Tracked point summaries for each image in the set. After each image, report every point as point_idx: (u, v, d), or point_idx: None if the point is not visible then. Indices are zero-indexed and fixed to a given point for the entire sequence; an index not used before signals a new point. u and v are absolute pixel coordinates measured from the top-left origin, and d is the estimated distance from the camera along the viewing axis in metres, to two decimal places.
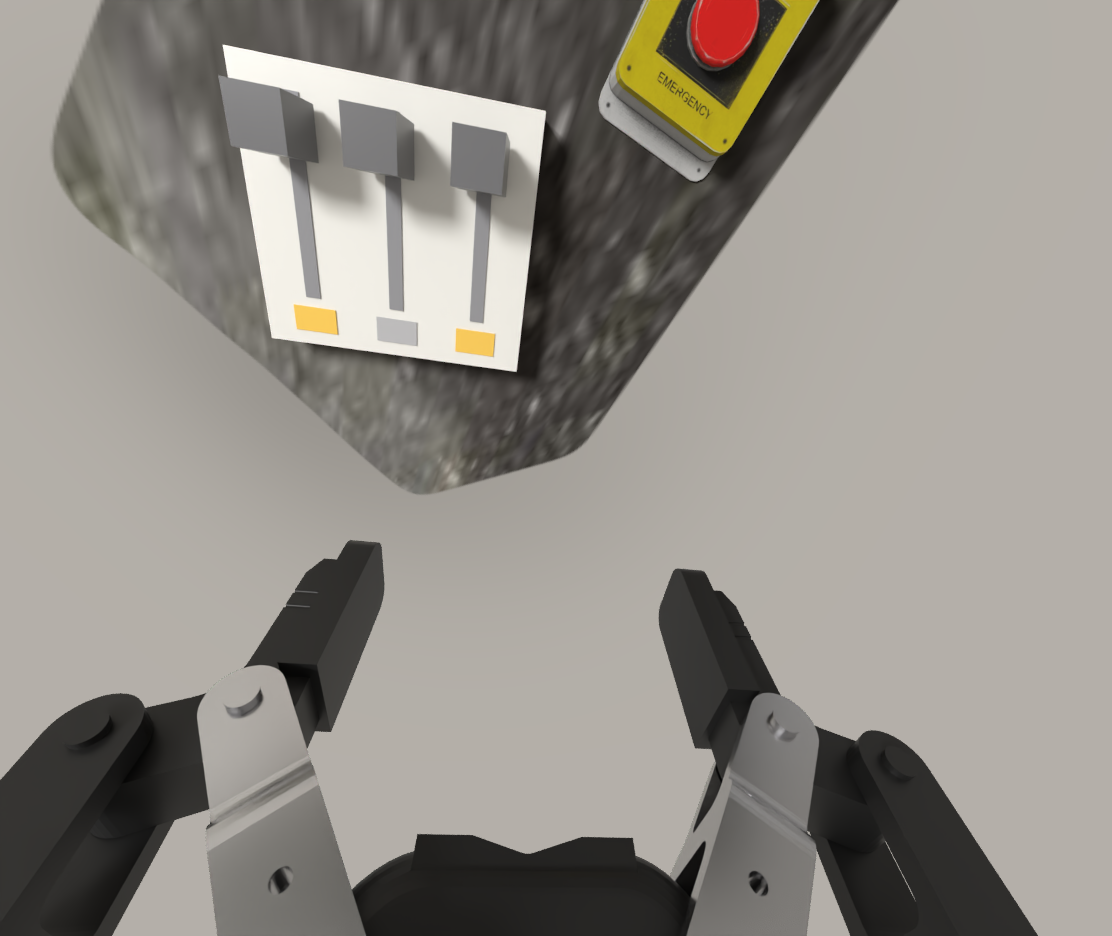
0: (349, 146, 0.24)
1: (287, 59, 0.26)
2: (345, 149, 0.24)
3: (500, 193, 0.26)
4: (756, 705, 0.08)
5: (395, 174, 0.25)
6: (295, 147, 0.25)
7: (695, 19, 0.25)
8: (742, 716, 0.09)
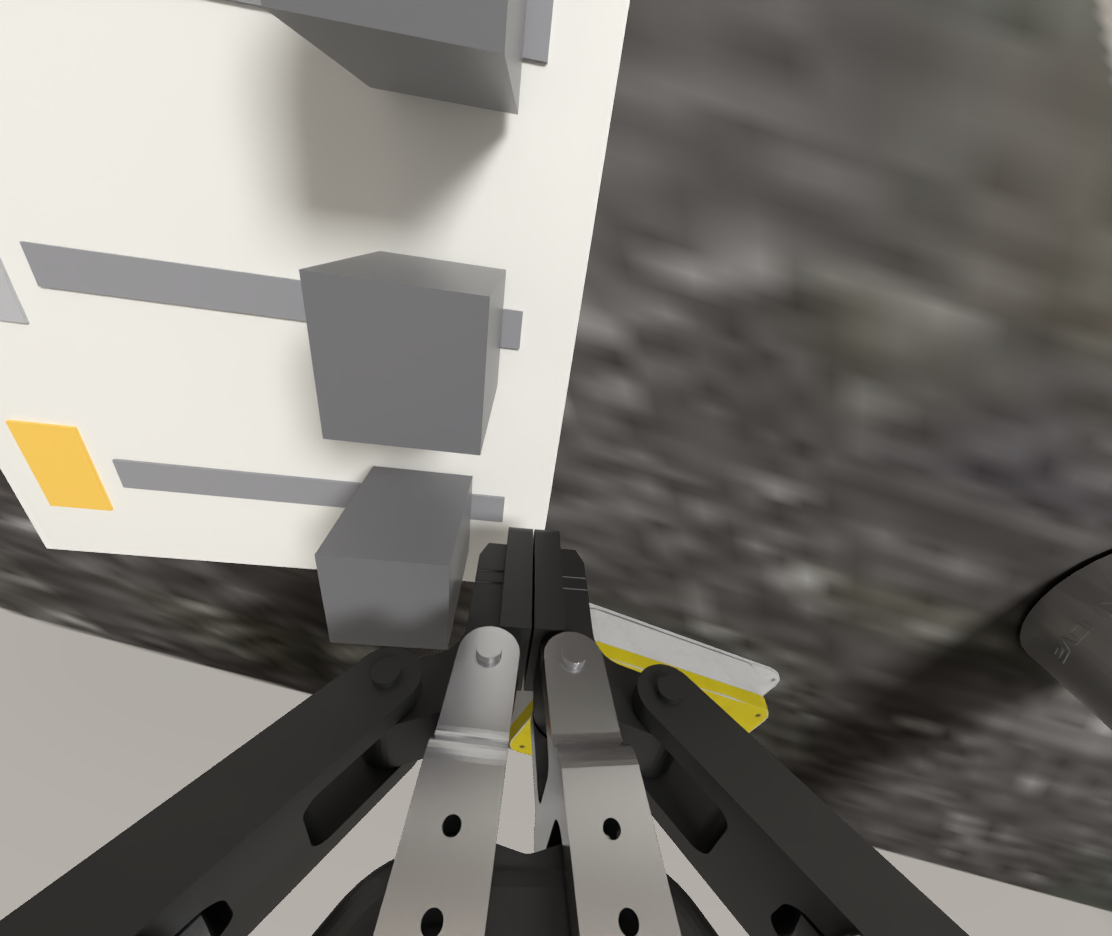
0: (365, 305, 0.07)
1: (618, 49, 0.09)
2: (353, 289, 0.07)
3: (333, 640, 0.11)
4: (549, 655, 0.09)
5: (325, 433, 0.08)
6: (342, 45, 0.06)
7: None
8: None
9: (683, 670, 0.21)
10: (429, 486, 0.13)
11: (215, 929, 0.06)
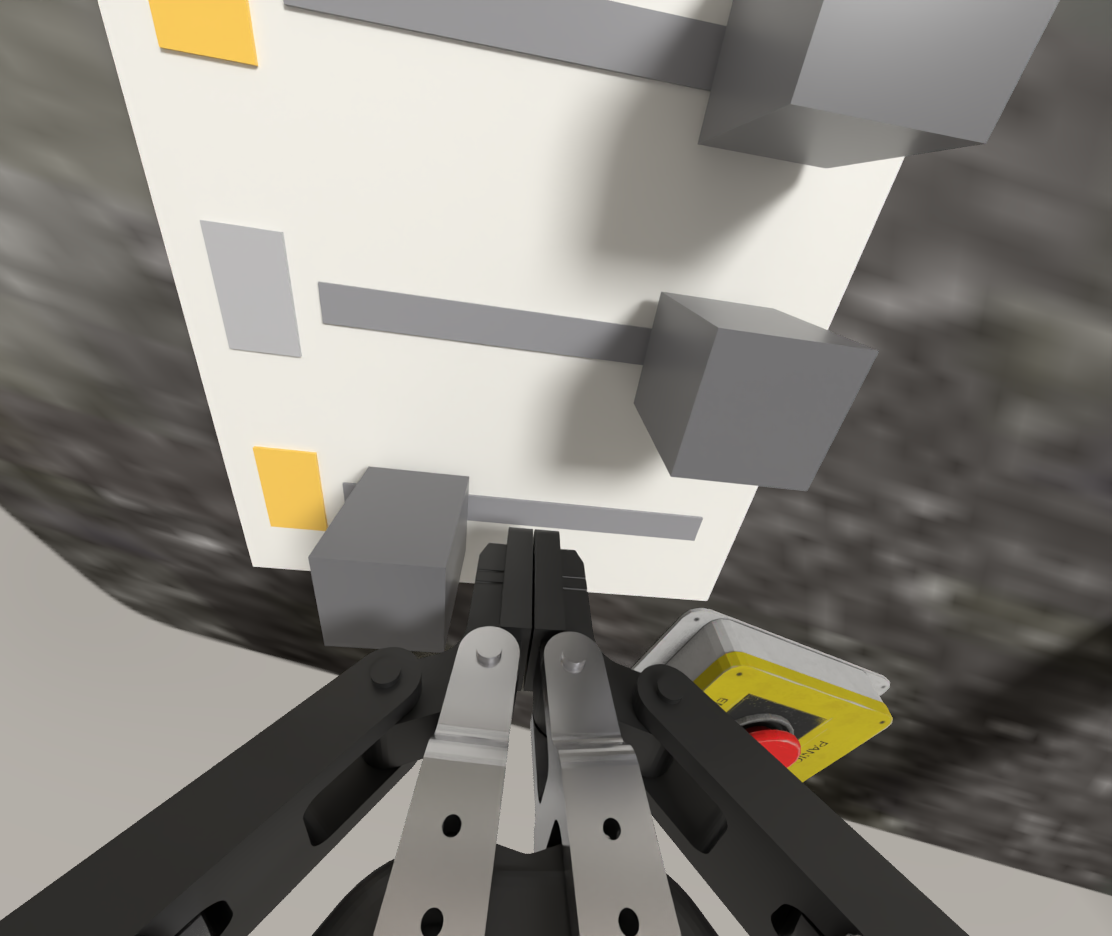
0: (764, 358, 0.08)
1: None
2: (759, 344, 0.08)
3: (327, 643, 0.11)
4: (549, 655, 0.09)
5: (675, 472, 0.09)
6: (787, 124, 0.07)
7: (772, 738, 0.21)
8: None
9: (815, 679, 0.22)
10: (426, 487, 0.13)
11: (215, 929, 0.06)
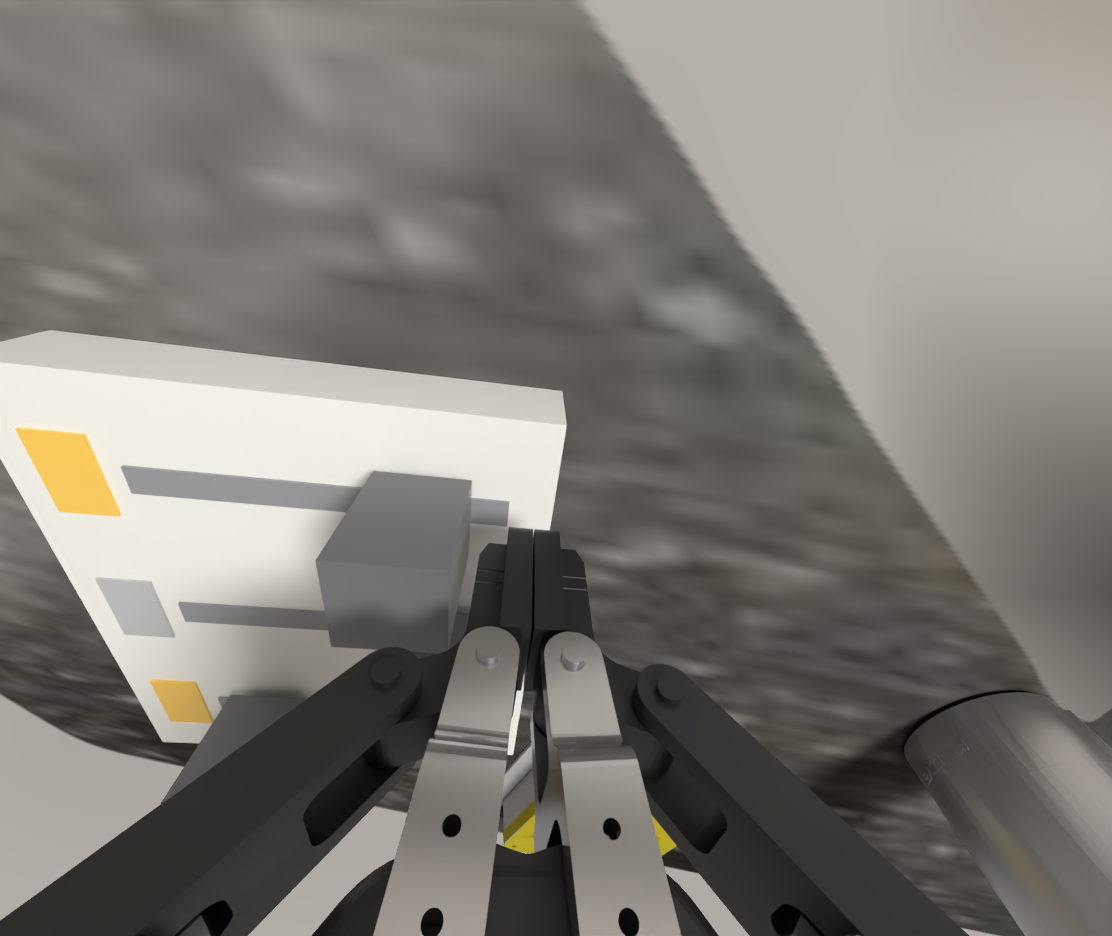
0: None
1: (549, 519, 0.15)
2: None
3: None
4: (549, 655, 0.09)
5: None
6: None
7: None
8: None
9: None
10: (266, 715, 0.18)
11: (215, 929, 0.06)
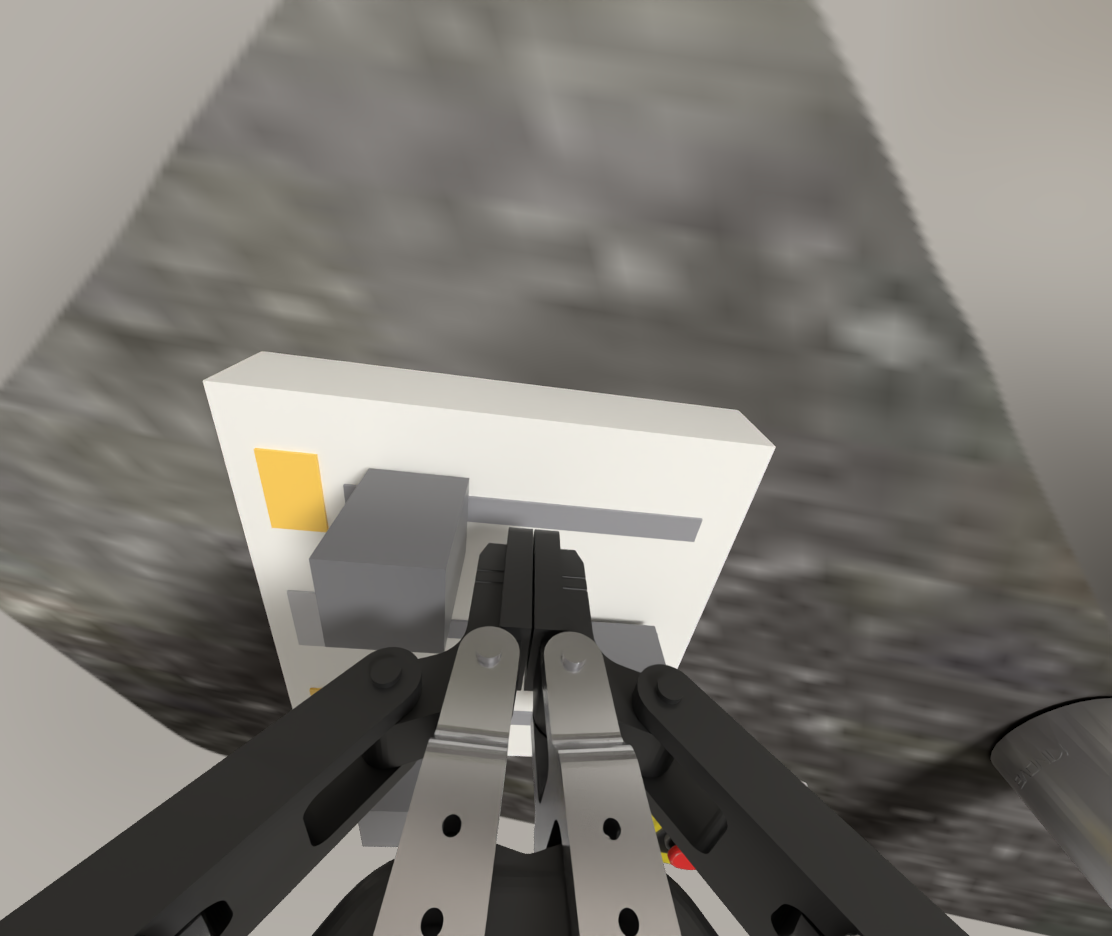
0: None
1: (735, 535, 0.16)
2: None
3: (364, 845, 0.17)
4: (549, 655, 0.09)
5: None
6: None
7: None
8: None
9: None
10: None
11: (215, 929, 0.06)
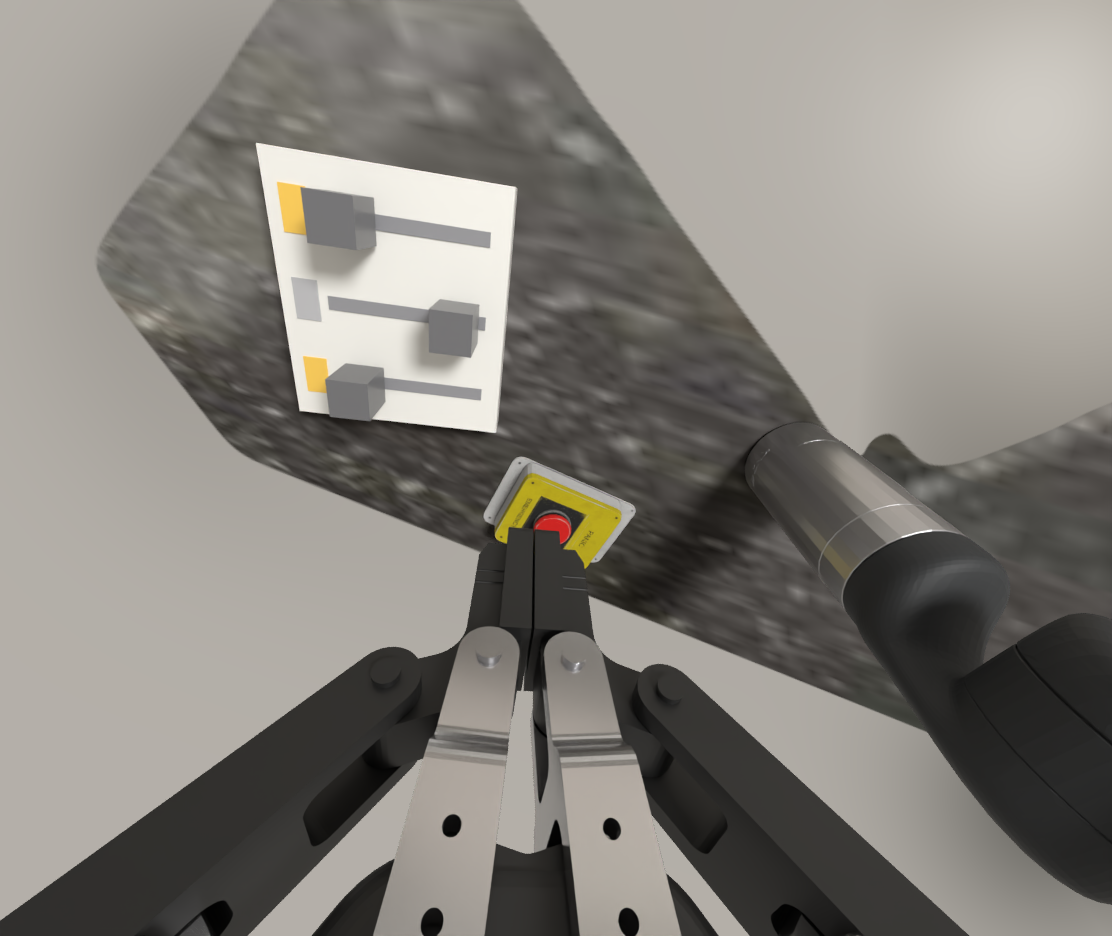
0: (443, 317, 0.30)
1: (510, 244, 0.32)
2: (440, 313, 0.30)
3: (330, 415, 0.33)
4: (549, 655, 0.09)
5: (429, 350, 0.31)
6: None
7: (552, 517, 0.44)
8: None
9: (577, 491, 0.44)
10: (366, 369, 0.35)
11: (215, 929, 0.06)
